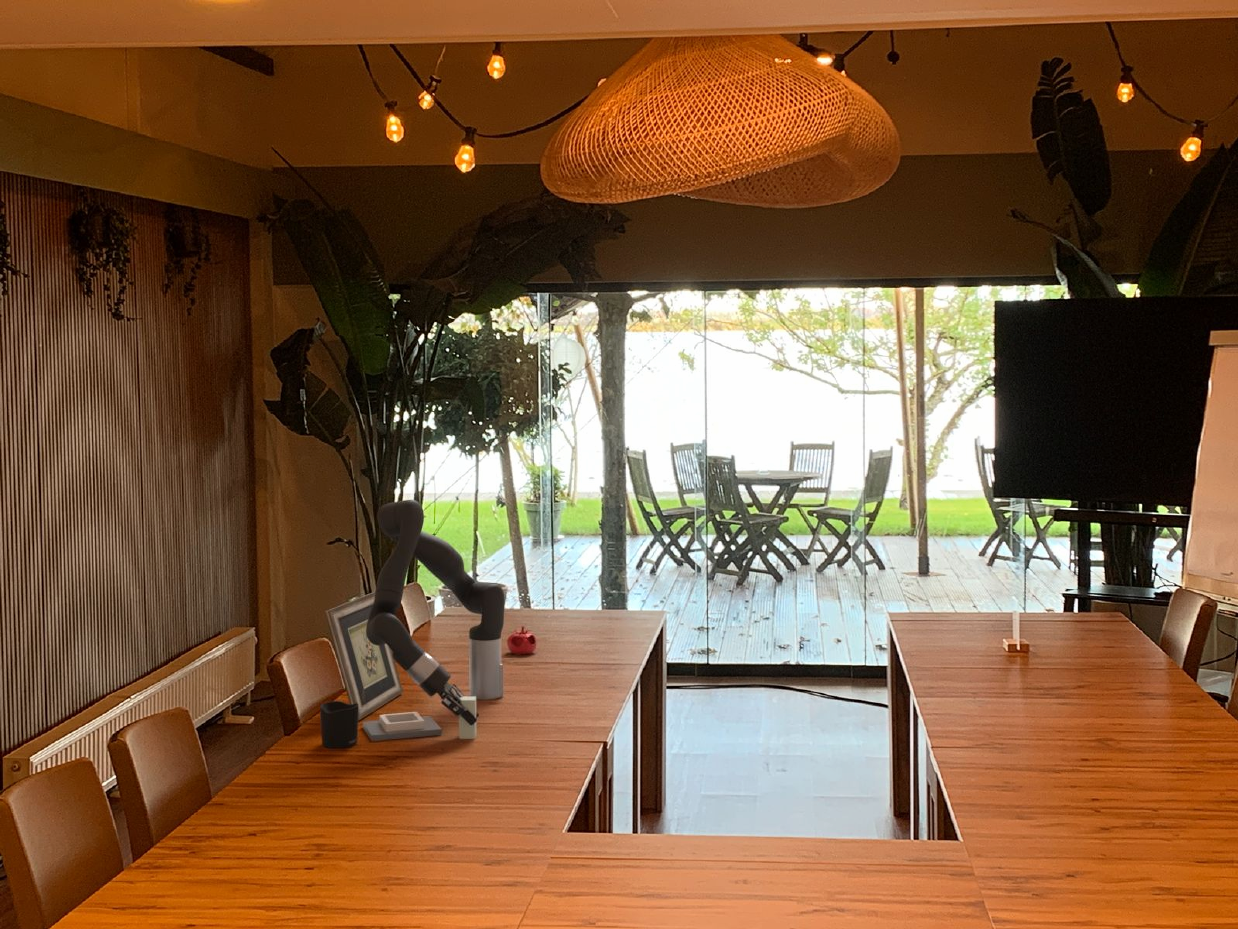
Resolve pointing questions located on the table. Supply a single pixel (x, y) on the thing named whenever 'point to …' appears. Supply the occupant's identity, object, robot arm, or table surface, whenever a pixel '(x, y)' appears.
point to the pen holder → (339, 724)
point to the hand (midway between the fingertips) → (475, 720)
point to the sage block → (464, 727)
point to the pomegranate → (521, 642)
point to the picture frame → (362, 657)
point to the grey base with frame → (401, 726)
